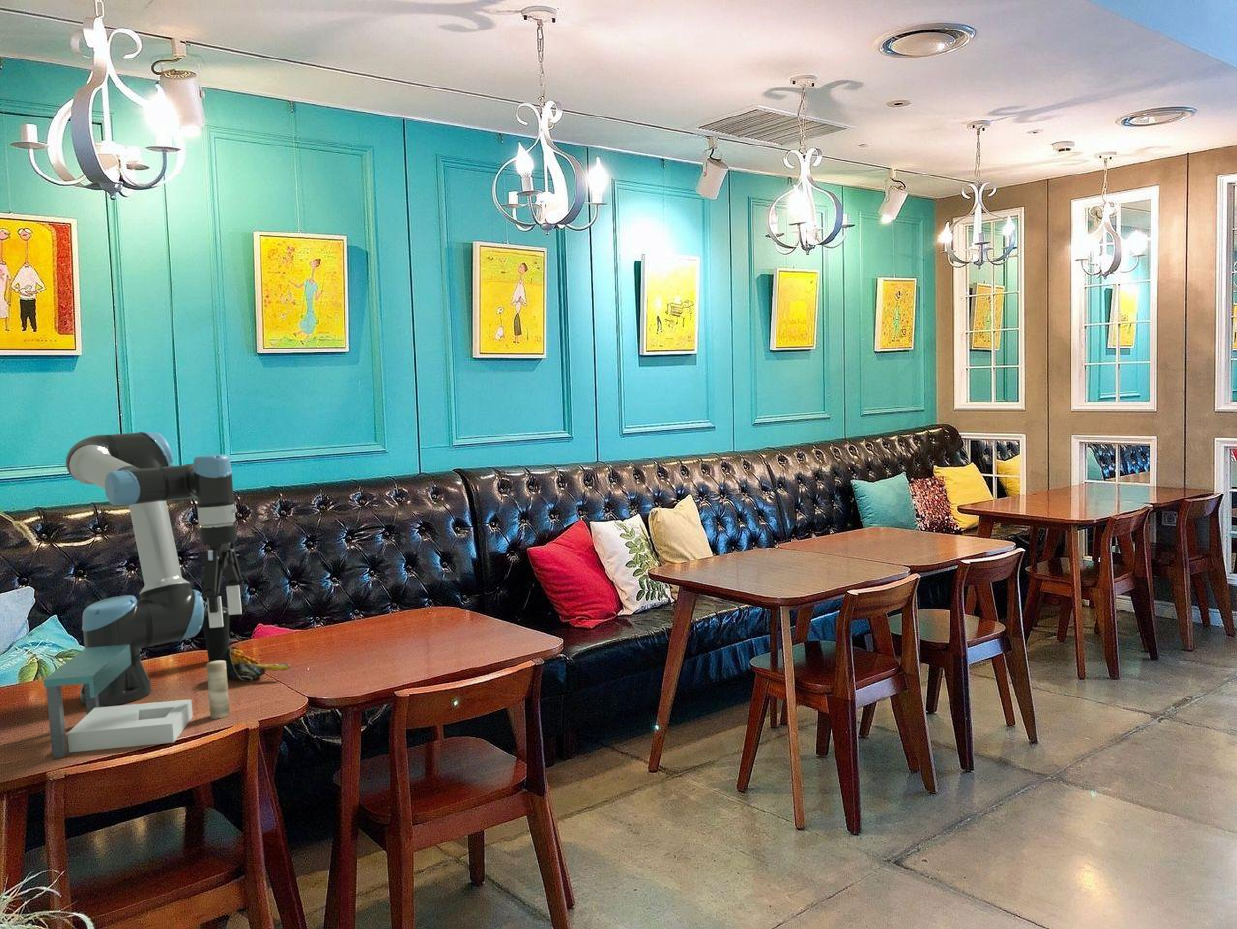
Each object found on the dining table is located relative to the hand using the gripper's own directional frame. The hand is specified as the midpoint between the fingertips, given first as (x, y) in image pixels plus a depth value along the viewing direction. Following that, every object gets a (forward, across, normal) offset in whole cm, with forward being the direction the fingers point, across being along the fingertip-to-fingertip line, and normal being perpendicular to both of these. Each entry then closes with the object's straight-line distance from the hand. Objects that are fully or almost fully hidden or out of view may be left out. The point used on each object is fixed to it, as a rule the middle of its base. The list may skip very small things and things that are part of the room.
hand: (226, 620), depth 217 cm
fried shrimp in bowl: (+21, +28, +4) cm, 35 cm away
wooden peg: (+21, +1, +3) cm, 22 cm away
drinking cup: (+20, +47, +17) cm, 54 cm away
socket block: (+21, -8, +19) cm, 29 cm away
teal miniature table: (+21, -8, +26) cm, 35 cm away
